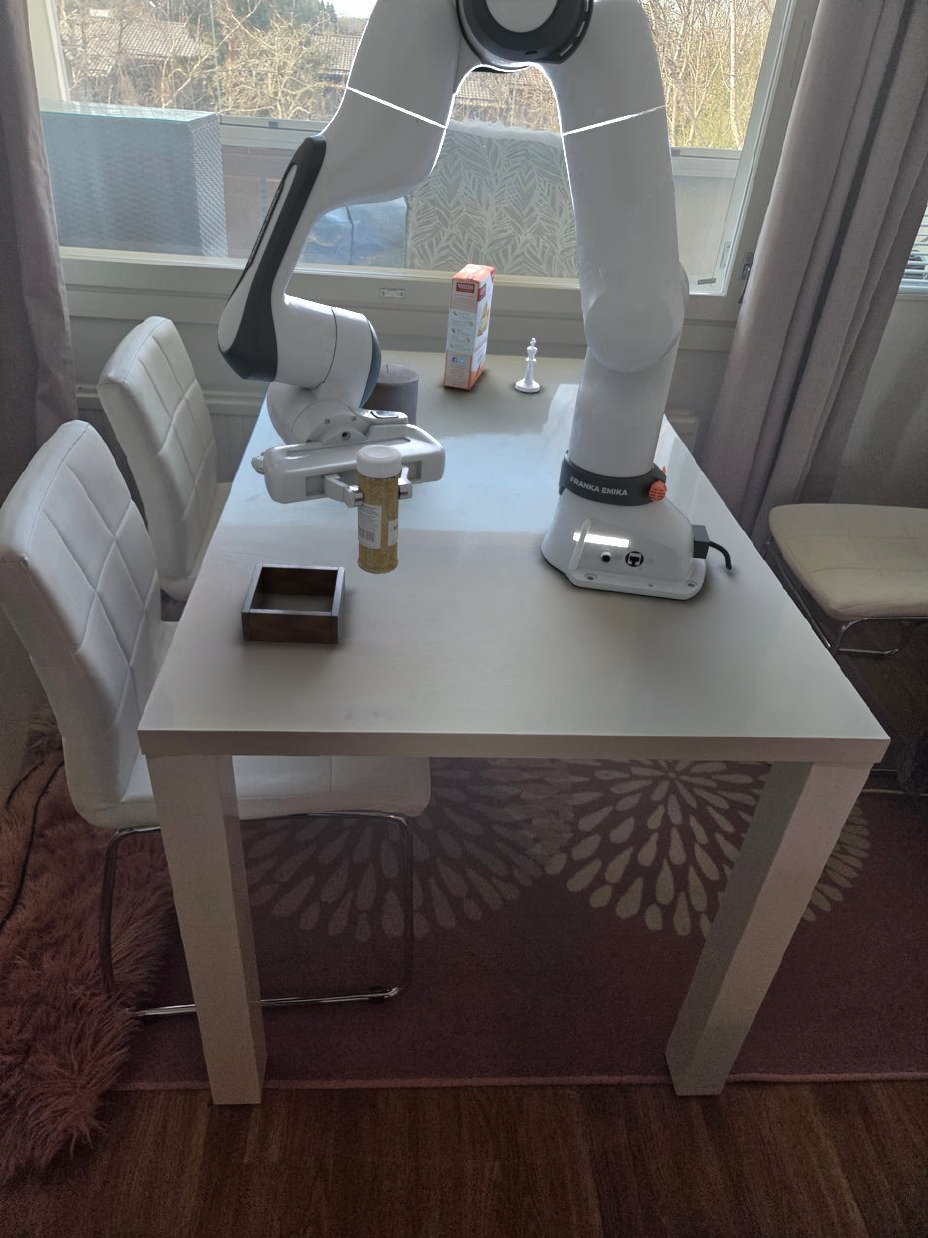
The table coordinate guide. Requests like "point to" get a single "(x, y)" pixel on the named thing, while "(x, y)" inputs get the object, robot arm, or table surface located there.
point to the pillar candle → (395, 391)
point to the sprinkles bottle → (378, 508)
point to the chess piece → (529, 372)
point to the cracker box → (468, 325)
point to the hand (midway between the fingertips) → (382, 496)
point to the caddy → (293, 623)
